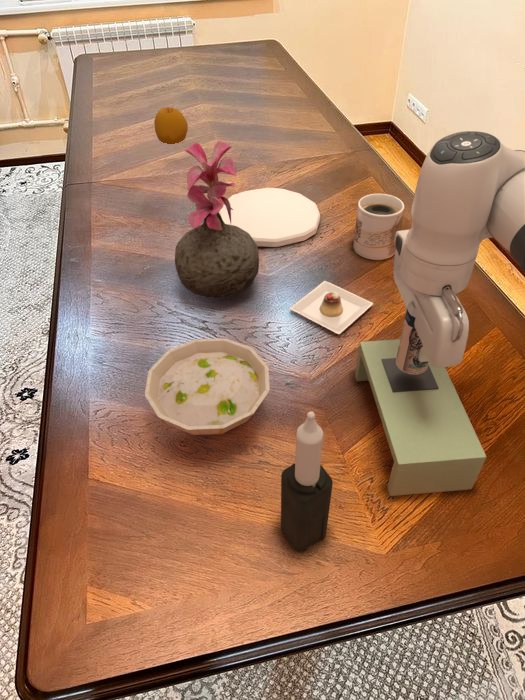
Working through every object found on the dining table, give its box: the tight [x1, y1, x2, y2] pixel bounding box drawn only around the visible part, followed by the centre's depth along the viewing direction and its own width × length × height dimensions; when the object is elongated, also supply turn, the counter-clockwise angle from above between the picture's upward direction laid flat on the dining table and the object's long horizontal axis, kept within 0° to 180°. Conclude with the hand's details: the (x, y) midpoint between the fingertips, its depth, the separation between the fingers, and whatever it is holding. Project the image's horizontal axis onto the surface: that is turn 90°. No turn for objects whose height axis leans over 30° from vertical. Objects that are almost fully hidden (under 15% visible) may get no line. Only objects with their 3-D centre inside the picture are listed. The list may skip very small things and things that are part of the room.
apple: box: [153, 106, 189, 144], centre depth 161 cm, size 10×10×12 cm
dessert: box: [289, 280, 374, 335], centre depth 105 cm, size 12×12×5 cm
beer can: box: [396, 302, 429, 375], centre depth 77 cm, size 5×5×12 cm
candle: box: [280, 411, 334, 553], centre depth 65 cm, size 5×5×25 cm
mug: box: [352, 193, 405, 261], centre depth 120 cm, size 10×12×11 cm
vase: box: [174, 140, 260, 300], centre depth 103 cm, size 17×18×30 cm
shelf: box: [354, 338, 487, 497], centre depth 83 cm, size 12×24×8 cm, turn 5°
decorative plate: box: [219, 187, 321, 248], centre depth 131 cm, size 25×4×25 cm
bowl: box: [144, 337, 271, 436], centre depth 84 cm, size 19×19×10 cm
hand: (417, 343), depth 78 cm, fingers closed on beer can, 5 cm apart
